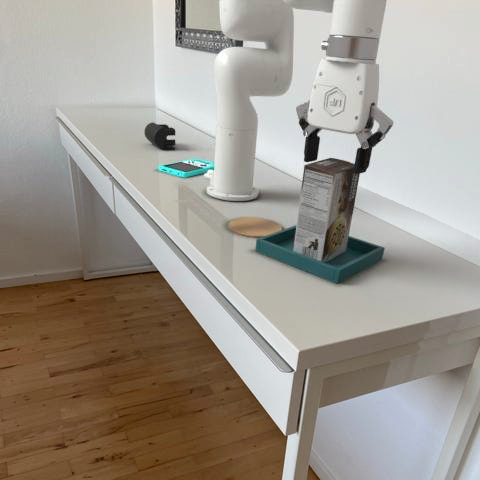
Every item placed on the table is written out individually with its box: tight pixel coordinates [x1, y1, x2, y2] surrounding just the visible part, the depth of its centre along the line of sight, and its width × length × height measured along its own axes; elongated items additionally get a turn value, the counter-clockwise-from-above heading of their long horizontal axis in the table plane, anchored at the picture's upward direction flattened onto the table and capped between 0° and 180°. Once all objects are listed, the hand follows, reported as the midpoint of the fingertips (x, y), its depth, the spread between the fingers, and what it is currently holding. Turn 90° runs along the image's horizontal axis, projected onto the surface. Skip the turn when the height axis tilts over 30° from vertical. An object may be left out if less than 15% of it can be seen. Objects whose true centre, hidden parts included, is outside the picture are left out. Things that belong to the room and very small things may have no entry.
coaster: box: [228, 217, 283, 238], centre depth 103 cm, size 11×11×1 cm
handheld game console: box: [157, 158, 214, 178], centre depth 141 cm, size 10×16×1 cm, turn 143°
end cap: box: [143, 121, 176, 151], centre depth 163 cm, size 10×7×7 cm
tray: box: [254, 224, 385, 284], centre depth 92 cm, size 18×16×2 cm
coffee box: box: [293, 157, 361, 263], centre depth 89 cm, size 9×6×16 cm
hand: (334, 166), depth 85 cm, fingers open, 9 cm apart
